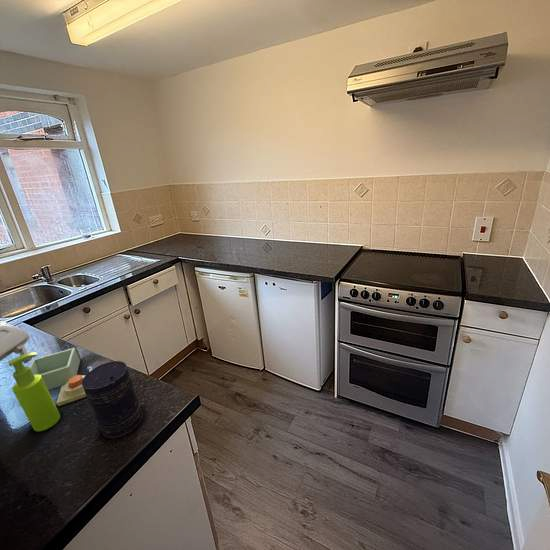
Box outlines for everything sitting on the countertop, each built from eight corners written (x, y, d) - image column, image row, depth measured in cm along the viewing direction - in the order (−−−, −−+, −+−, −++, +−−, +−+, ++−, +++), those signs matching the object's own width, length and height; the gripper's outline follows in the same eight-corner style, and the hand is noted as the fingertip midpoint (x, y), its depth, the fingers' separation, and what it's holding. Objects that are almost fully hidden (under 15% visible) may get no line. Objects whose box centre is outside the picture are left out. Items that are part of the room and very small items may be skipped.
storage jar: (93, 428, 75) (72, 381, 69) (128, 401, 82) (112, 356, 77) (116, 444, 70) (95, 394, 64) (151, 414, 77) (135, 367, 72)
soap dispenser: (67, 418, 79) (37, 355, 72) (35, 435, 75) (0, 370, 67) (62, 407, 83) (33, 347, 76) (31, 423, 79) (-2, 360, 71)
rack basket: (29, 396, 89) (21, 381, 87) (39, 373, 99) (32, 359, 97) (75, 381, 93) (68, 366, 91) (80, 361, 103) (74, 347, 101)
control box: (57, 406, 83) (53, 398, 82) (63, 389, 90) (59, 381, 89) (97, 392, 87) (94, 384, 86) (99, 376, 94) (96, 369, 93)
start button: (68, 389, 86) (66, 385, 85) (70, 382, 89) (68, 377, 88) (83, 385, 87) (81, 380, 86) (84, 377, 90) (82, 373, 89)
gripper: (-4, 326, 82) (42, 354, 84) (-95, 378, 63) (-32, 411, 65) (3, 311, 80) (50, 340, 82) (-89, 359, 61) (-24, 395, 63)
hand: (13, 372), depth 74 cm, fingers open, 8 cm apart
